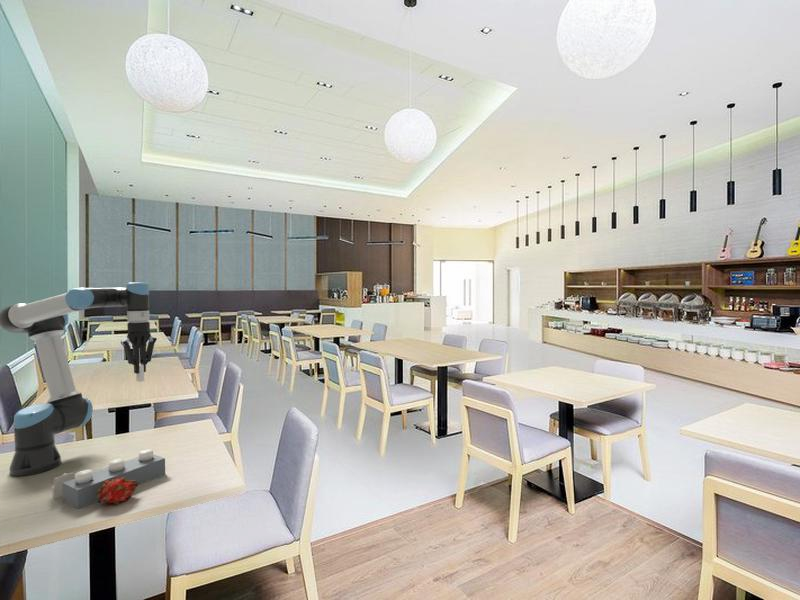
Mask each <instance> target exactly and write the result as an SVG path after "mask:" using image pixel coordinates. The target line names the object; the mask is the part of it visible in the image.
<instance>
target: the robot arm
mask: <svg viewBox="0 0 800 600" xmlns="http://www.w3.org/2000/svg"><path fill="white" fill-rule="evenodd" d="M149 289H150V288H149V284H148V283H147V282H127V283H126V284H125V287H113V286H111V287H77V288H76V287H75V288H70V289H69V290H68V291H67V292H65V293H61V294H59V295H55V296H54V295H53V296H51V297H47V298H43V299H40V300H37V301H33V302H30V303H16V304H12V305H8V306H5V307H4V308H2V309H1V310H0V327H1V328H2V329H3V330H4V331H7V332H9V333H12V334H27V335H28V338H29V339H30V340H32V341H34V342H35V346H36V350H37V353H38V357H39V360H40V364H41V368H42V372H43V375H44V379H45V383H46V386H47V389H48V393H49V398H48V400H47V401H46V403H38V404H36V405H35V404H34V405H29V406H27V407H24V408H22V409H20V410H18V411H17V412H15V414H14V416H13V423H12V425H13V430H14V431H13V432H14V433H13V435H14V453H13V457H12V460H11V463H10V466H9V475H10V476H15V477H23V476H24V477H25V476H31V475H36V474H40V473H43V472H47V471H51V470H52V469H55V468H57V467H58V466H60V465H61V463H62V457H61V454H60V452H59V450H58V447H57V446H56V444H55V435H58V434H61V433H65V432H67V431H70V430H72V429H76V428H79V427H81V426H83V425H85V424H87V423H88V422H89V421H90V419H91V418H92V416H93V409H94V408H93V407H94V405H93V403H92V402H91V400H90V399H89V398H88V397H85V396H83V394H82V392H81V391H79V390H77V389H76V386H75V382H74V379H73V376H72V371H71V368H70V364H69V361H68V357H67V353H66V349H65V346H64V343H63V338H62V335H63V334H64V333H65V327H67V325H68V321H69V317H68V314H72V313H75V312H79V311H84V310H89V309H96V308H113V307H126V314H127V315H126V318H127V319H126V321H127V326H126V327H127V336H126V338H125V339H124V340H121V341H120V344H121V346H122V347H123V349H124V352H125V353H124V354H125V356H126V359H127V362H128V363H127V364H129V365H133V372H134V374H135V375H136V378H135V379H136V382H139V383H141V382H145V372H147V365H148V363H151V361H152V357H153V352H154V349H155V343H156V342H157V340H158V338H157V337H155V336H154V337H153V336H152V334H151V332H150V331H151V325H150V290H149ZM130 344H131V345H130ZM131 347H132V349H131Z"/></svg>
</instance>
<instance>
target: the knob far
mask: <svg viewBox="0 0 800 600" xmlns="http://www.w3.org/2000/svg"><path fill="white" fill-rule="evenodd" d="M153 454H154V449H151V448H149V449H148V448H147V449H143V450H140V451H139V452H138V457H139V460H140V461H142V462H146V461H149V460H151V459H152V458H153Z"/></svg>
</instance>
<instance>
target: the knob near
mask: <svg viewBox="0 0 800 600" xmlns="http://www.w3.org/2000/svg"><path fill="white" fill-rule="evenodd" d="M93 472H94V471H93V469H84V470H81V471H76V473H74V475H75V483H79V485H82V484H85V483H88V482H90V480H92V479H93Z"/></svg>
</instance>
